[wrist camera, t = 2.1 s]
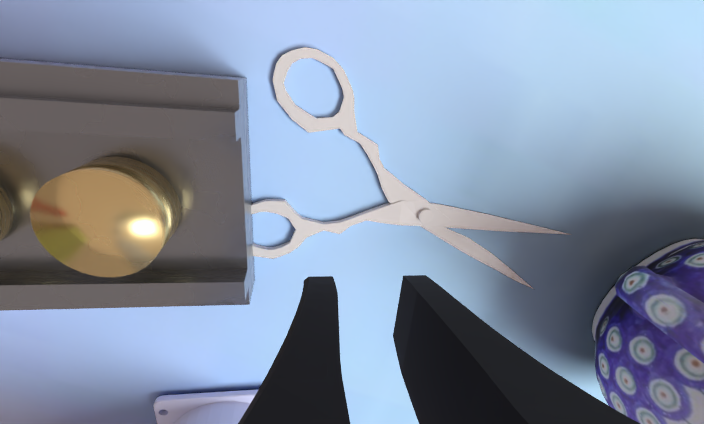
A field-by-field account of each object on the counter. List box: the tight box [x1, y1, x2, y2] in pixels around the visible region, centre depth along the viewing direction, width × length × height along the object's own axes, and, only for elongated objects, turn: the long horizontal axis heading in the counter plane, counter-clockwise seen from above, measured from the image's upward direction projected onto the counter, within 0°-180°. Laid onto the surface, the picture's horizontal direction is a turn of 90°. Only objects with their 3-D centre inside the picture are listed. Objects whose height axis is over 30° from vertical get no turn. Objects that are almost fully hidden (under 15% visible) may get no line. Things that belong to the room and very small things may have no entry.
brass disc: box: [30, 156, 181, 277], centre depth 12 cm, size 4×4×2 cm
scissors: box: [251, 47, 572, 290], centre depth 17 cm, size 11×1×20 cm
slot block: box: [0, 58, 255, 310], centre depth 13 cm, size 10×14×3 cm
